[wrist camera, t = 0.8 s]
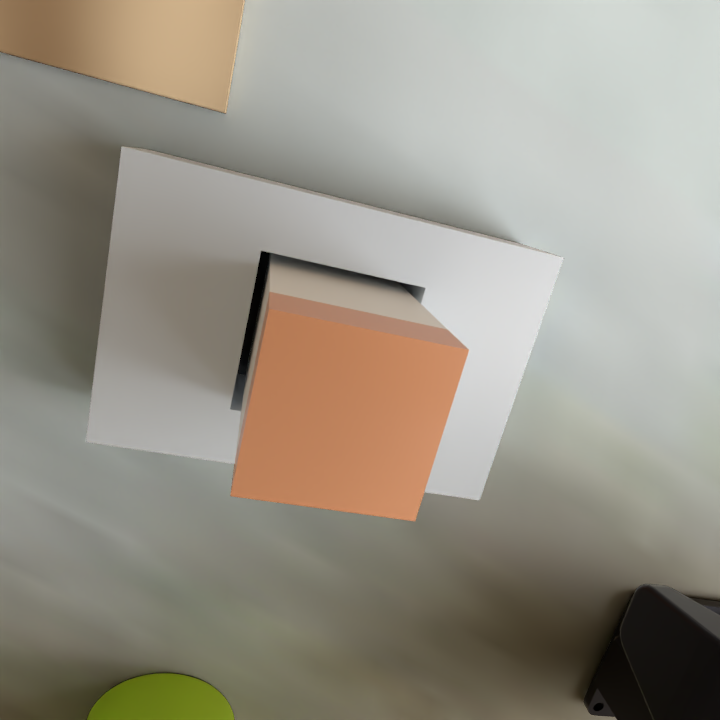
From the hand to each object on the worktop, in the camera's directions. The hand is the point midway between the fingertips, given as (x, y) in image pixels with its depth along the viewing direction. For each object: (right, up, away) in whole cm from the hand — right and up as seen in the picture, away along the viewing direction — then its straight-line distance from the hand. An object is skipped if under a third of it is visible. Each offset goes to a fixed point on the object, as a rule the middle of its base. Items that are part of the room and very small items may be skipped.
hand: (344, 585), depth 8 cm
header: (-1, +4, +11) cm, 12 cm away
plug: (-1, +4, +11) cm, 12 cm away
